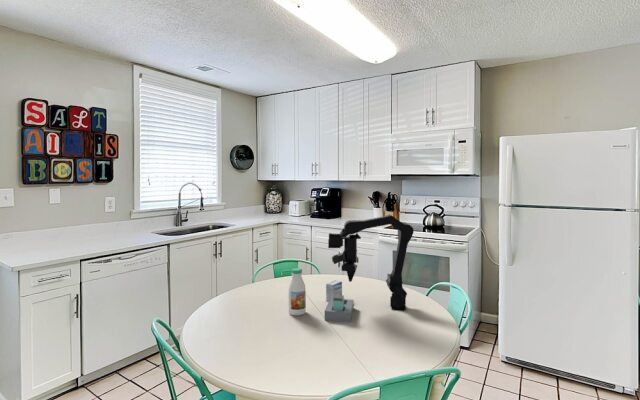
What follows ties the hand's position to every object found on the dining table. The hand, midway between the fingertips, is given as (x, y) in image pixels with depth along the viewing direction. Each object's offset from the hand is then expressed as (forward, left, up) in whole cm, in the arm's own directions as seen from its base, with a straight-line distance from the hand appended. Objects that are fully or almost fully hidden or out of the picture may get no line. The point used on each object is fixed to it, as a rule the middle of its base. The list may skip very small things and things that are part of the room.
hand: (350, 281), depth 166 cm
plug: (+4, +12, -12) cm, 18 cm away
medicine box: (+9, -10, -13) cm, 19 cm away
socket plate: (+4, +8, -12) cm, 15 cm away
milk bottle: (+23, +10, -13) cm, 28 cm away
